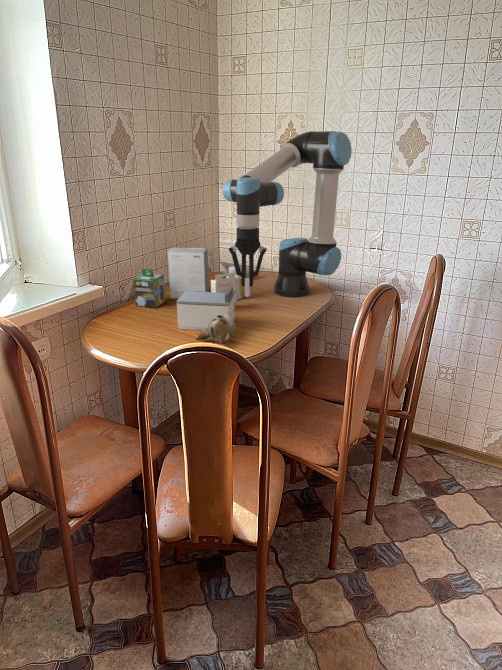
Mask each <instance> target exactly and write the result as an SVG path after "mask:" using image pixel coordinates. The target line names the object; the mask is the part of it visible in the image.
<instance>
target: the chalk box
mask: <svg viewBox="0 0 502 670" xmlns="http://www.w3.org/2000/svg"><path fill="white" fill-rule="evenodd" d="M141 273H142V274H139V275H137V276H135V277H134V278H133V279H132V282H133V293H134V302H135V307H144V308H151V309H156V308H157V307H159V306H161V305H162V304H165V302H166V301H167V297H166V296H167V295H166V287H165V274H162V273H154V270H153V268H146V267H145V268H144V267H143V268H142V267H141Z"/></svg>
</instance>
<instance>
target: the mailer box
mask: <svg viewBox="0 0 502 670" xmlns="http://www.w3.org/2000/svg"><path fill="white" fill-rule="evenodd" d="M176 311H177V313H176V314H177V329H179V330H181V329H182V330H194V331H195V330H196V331H197V330H198V331H199V330H200V331H203V330H204V329H207V327H208V325H209V323H210V322H211V321H212V320H214V319H215V318H216V317H217V316H218V315H221V316H222V315H225V314H227V313H230V315H231V317H232V319H233V321H234V322H235V309H234V296H233V298H232V300H231V302H230V304H229V306H224V305H203V304H182V303H177V302H176Z"/></svg>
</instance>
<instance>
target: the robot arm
mask: <svg viewBox="0 0 502 670" xmlns="http://www.w3.org/2000/svg"><path fill="white" fill-rule="evenodd" d="M351 158H352V143H351V140H350V138H349V135H347V134H346V133H345V132H342V131H335V130H331V131H328V130H327V131H306V132H303V133H301V134H298V135H297V136H295V137H293V138H291V139H289V140H287V141H286V142H284V143H283V144H281V146H280V148H279V150H278V151H277V152H275V153H274V154H272V155H271V156H269V157H268V158H266V159H265V160H263V161H262V162H260V163H259V164H258V165H257V166H255V167H254V168H252V169H251V170H249V171H247V172H246V173H245V174H244V175H242V176H241V177H239V178H238V179H234V178H233V179H228V180H226V181H225V182H224V184H223V185H222V195H223V198H224V199H225V200H226V201H227V202H232V203H236V214H235V215H236V226H237V227H236V241H235V243H234V244H233V245H231V246H229V247H228V251H229V253H230V255H231V258H232V261H233V264H234V266H235V270H236V274H237V275H238V276H241V277H242V286H243V287H244V297H246V298H247V297H250V296H251V287H252V288H253V286H254V280H253V277H258V276H259V273H260V270H261V265H262V262H263V258H264V255H265V254H266V252H267V250H268V249H267V247H265V246H262V244H261V242H260V228H259V226H260V207H269V206H276V205H278V204H280V203H281V202H283V199H284V198H285V188H284V187H283V186H282V184H281V183H280V182H278V181H274V180H276V179H277V178H278V177H280V176H281V175H282V174H283V173H285V172H287V171H288V170H289V169H290V168H296V167H298V166H299V165H301V164H312V170H314V172H315V173H316V177H315V187H314V188H315V190H314V202H313V203H314V204H313V212H312V213H313V214H312V226H311V236H310V237H309V238H306V237H291V238H286V239H282V240H281V241H279V249H278V276H277V277H276V281H275V283H274V287H273V292H274V294H276V295H278V296H281V297H288V298H296V297H297V298H298V297H303V296H304V297H305V296H307V295H309V294H310V286H309V281H308V279H307V278H308V277H307V273H310V274H311V273H312V274H315V275H319V276H331V275H333V274H334V273H335V272H336V271H337V270H338V268H339V267H340V264H341V261H342V251H341V249H340V248H339V247H337V244H338V243H337V240H336V239H335V238H334V232H335V222H336V209H337V201H338V200H337V199H338V190H339V178H340V174H341V173H342V172H343V171H344V169H345V168H344V167H345V166H346V165H347V164H349V162H350V159H351ZM237 250H238V251H239V253H240V254H241V265H242V272H241V270H240V266H239V265H240V262H239V259H238V254H237ZM258 250H259V254H258V259H257V264H256V267H254V265H255V264H254V261H255V259H254V257H255V254H256V253H257V251H258ZM247 255H248V262H249V263H248V266H249V276H246V266H247ZM254 268H255V269H254Z"/></svg>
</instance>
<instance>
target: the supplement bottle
mask: <svg viewBox="0 0 502 670" xmlns="http://www.w3.org/2000/svg"><path fill="white" fill-rule="evenodd" d="M229 273H235V281H236V301H237V300H241V299H243V296H244V295H243V294H244V293H243V291H244V288H243V287H244V286H242V277H241V276H238V275H237V274H236V270H235V267H229ZM225 278H229V277H228V276H225Z"/></svg>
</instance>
